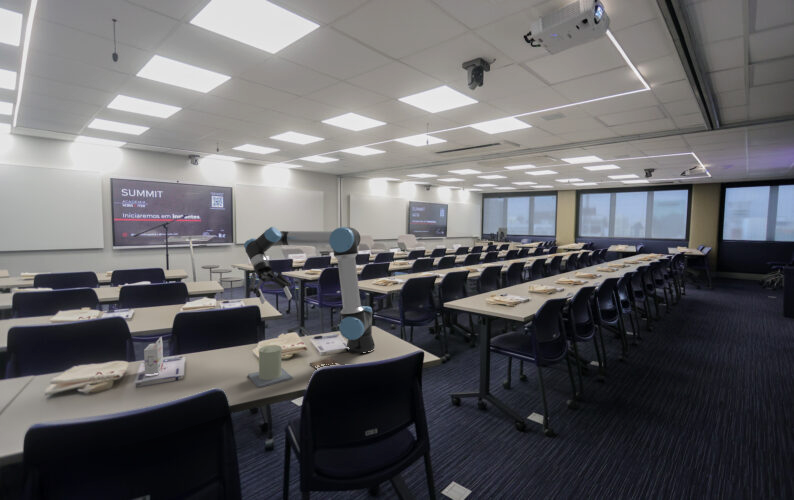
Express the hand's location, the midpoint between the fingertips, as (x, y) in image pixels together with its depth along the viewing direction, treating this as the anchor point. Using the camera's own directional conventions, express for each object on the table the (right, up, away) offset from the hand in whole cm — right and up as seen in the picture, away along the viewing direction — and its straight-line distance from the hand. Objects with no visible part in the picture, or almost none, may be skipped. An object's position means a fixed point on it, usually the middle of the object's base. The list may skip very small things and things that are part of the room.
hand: (277, 300), depth 161 cm
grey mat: (+2, -31, -15) cm, 34 cm away
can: (+2, -30, -15) cm, 34 cm away
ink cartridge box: (-49, -30, -13) cm, 58 cm away
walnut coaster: (+23, -30, -1) cm, 38 cm away
